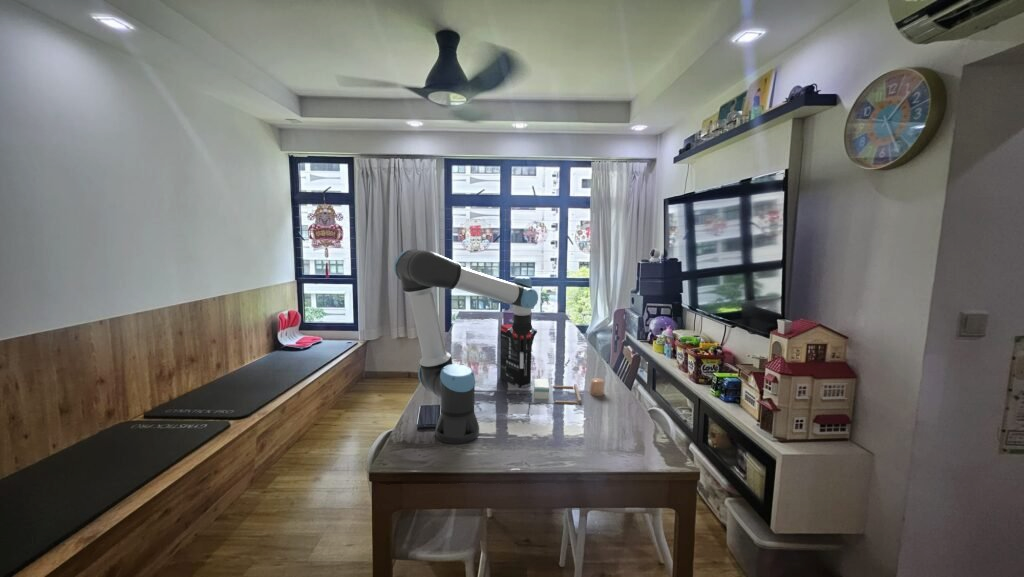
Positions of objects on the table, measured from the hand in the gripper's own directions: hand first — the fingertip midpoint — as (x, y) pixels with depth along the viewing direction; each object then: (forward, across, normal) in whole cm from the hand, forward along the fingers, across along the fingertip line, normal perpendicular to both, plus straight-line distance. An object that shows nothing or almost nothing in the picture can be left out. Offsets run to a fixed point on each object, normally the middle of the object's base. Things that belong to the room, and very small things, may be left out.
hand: (521, 367), depth 176 cm
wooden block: (+14, -34, -7) cm, 37 cm away
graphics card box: (+13, +3, -14) cm, 19 cm away
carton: (+12, -9, 0) cm, 14 cm away
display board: (+13, -15, 0) cm, 20 cm away
